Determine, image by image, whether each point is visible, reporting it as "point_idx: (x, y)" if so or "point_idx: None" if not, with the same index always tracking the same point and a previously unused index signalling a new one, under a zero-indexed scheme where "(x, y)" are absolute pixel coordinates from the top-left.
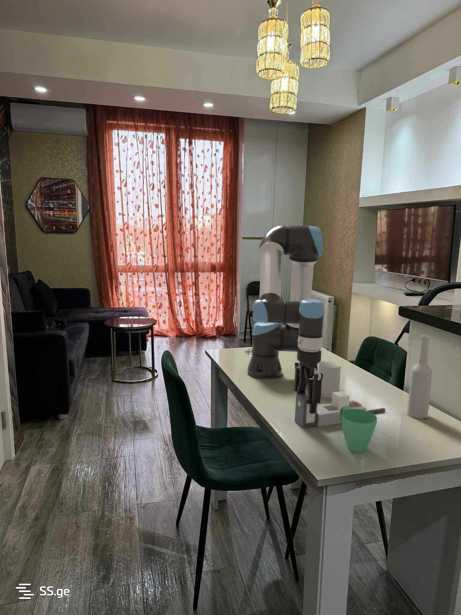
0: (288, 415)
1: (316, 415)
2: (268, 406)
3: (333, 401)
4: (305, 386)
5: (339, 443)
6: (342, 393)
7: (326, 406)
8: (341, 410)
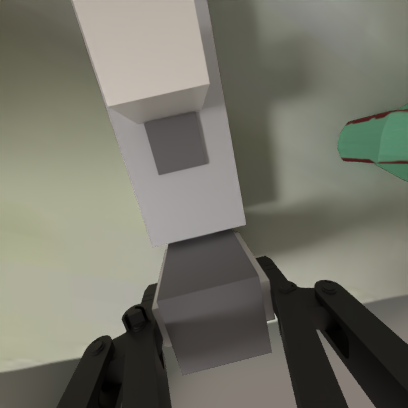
0: (138, 282)
1: (232, 230)
2: (63, 328)
3: (148, 115)
4: (159, 388)
5: (350, 182)
6: (127, 6)
7: (161, 162)
8: (385, 160)
